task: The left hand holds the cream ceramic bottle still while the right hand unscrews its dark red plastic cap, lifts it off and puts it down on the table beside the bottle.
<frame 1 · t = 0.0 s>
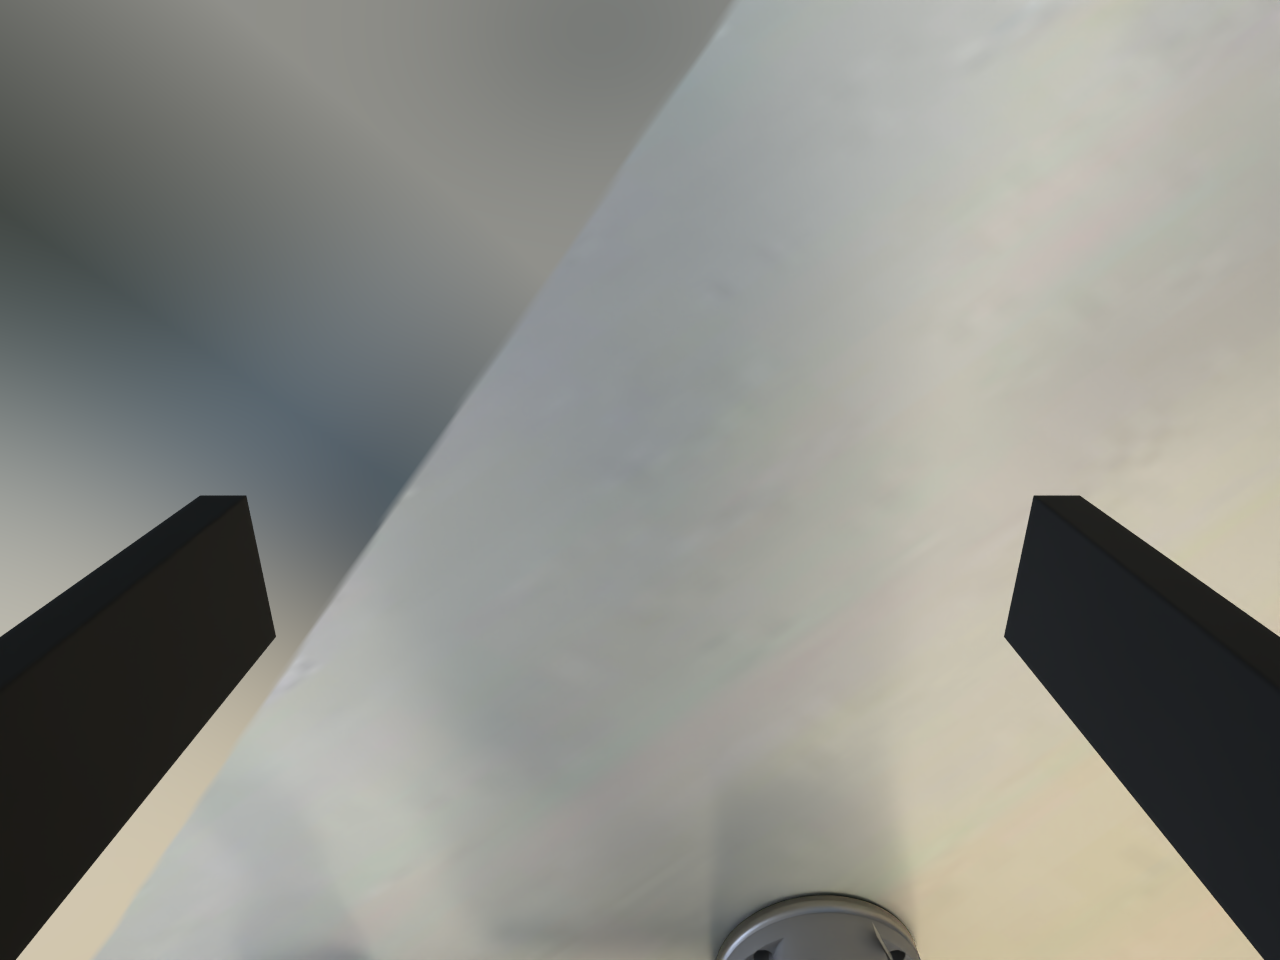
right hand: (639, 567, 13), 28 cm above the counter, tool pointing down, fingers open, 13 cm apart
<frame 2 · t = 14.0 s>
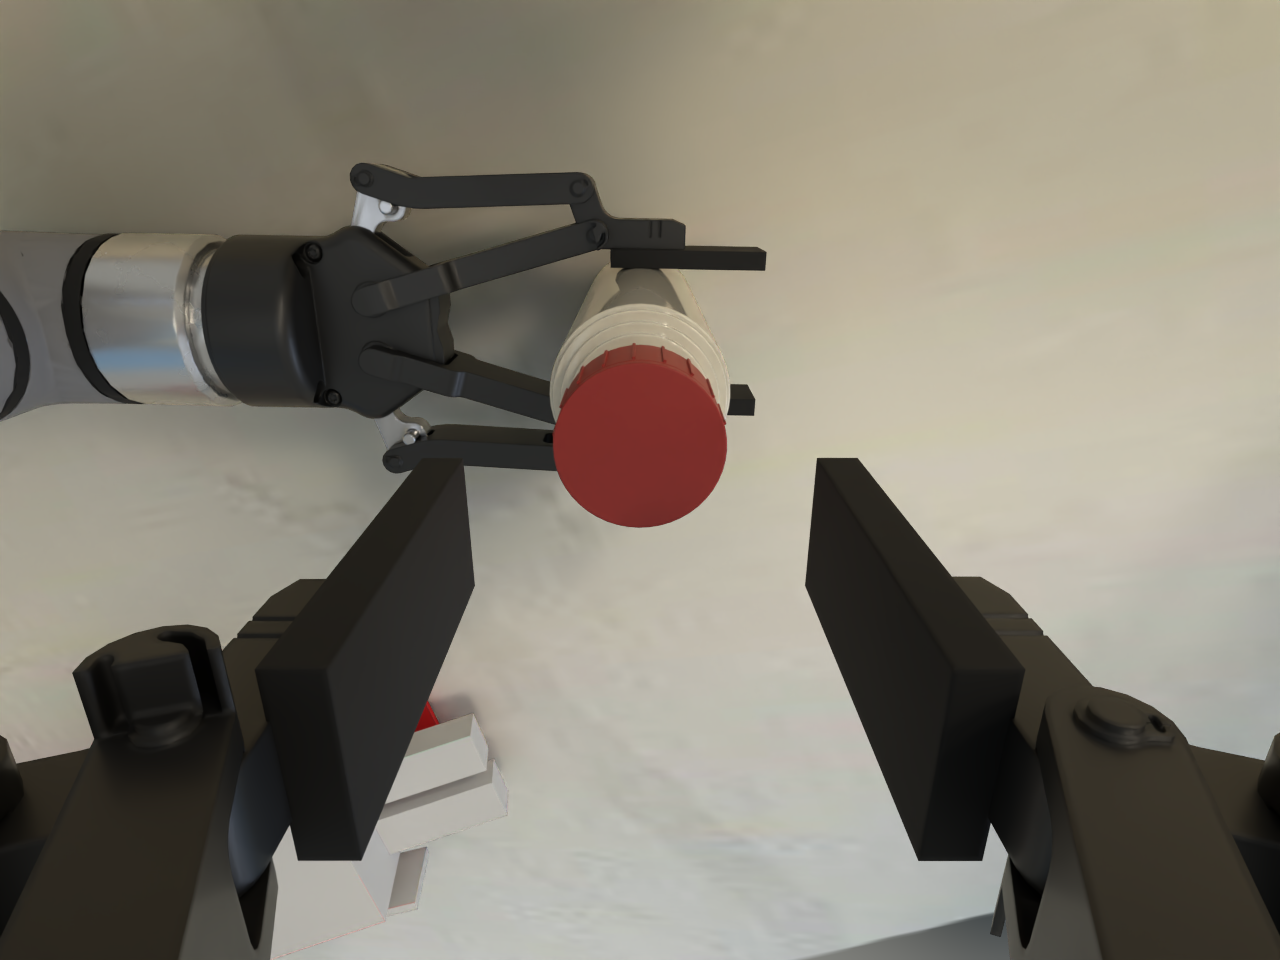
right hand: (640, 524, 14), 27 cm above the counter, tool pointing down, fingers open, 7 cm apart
left hand: (754, 331, 34), fingers closed on bottle, 6 cm apart
bottle: (639, 307, 40), on the counter, touching left hand
cap: (639, 445, 19), point 22 cm above the counter, screwed on, not yet turned
toy: (293, 767, 51), on the counter
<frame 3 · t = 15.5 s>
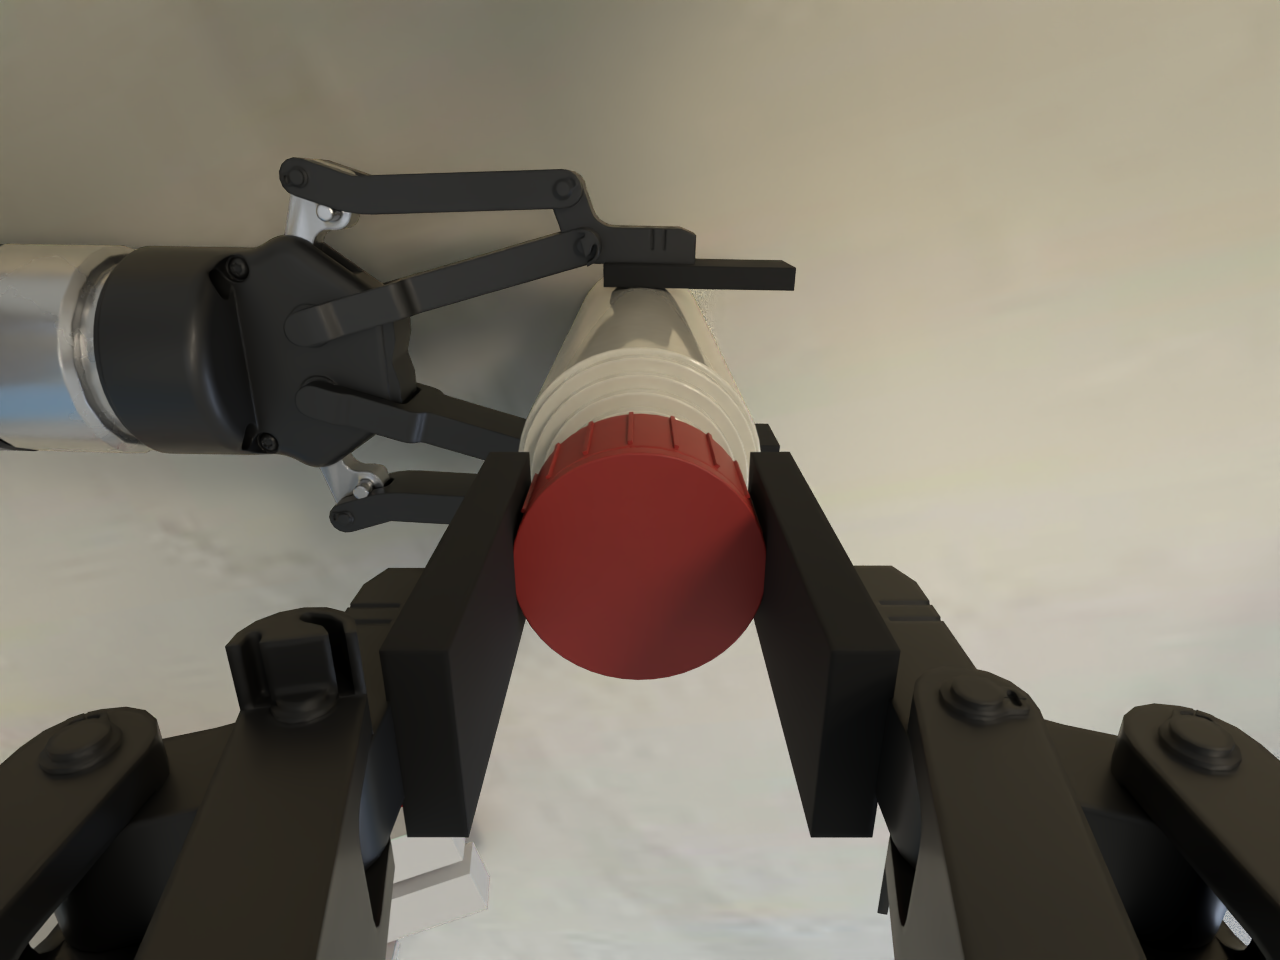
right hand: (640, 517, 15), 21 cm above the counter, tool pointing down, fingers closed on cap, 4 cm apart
left hand: (778, 362, 28), fingers closed on bottle, 6 cm apart
bottle: (639, 329, 34), on the counter, touching left hand
cap: (639, 565, 13), point 22 cm above the counter, screwed on, not yet turned, touching right hand
toy: (248, 843, 45), on the counter
when the right hand's fingers open (2 cm above the counter, at t = 33.7 s): cap drops 2 cm, point 2 cm above the counter.
when the left hand's fingers open (6 cm above the counter, at t = 34.9 s): bottle stays where it is, on the counter.
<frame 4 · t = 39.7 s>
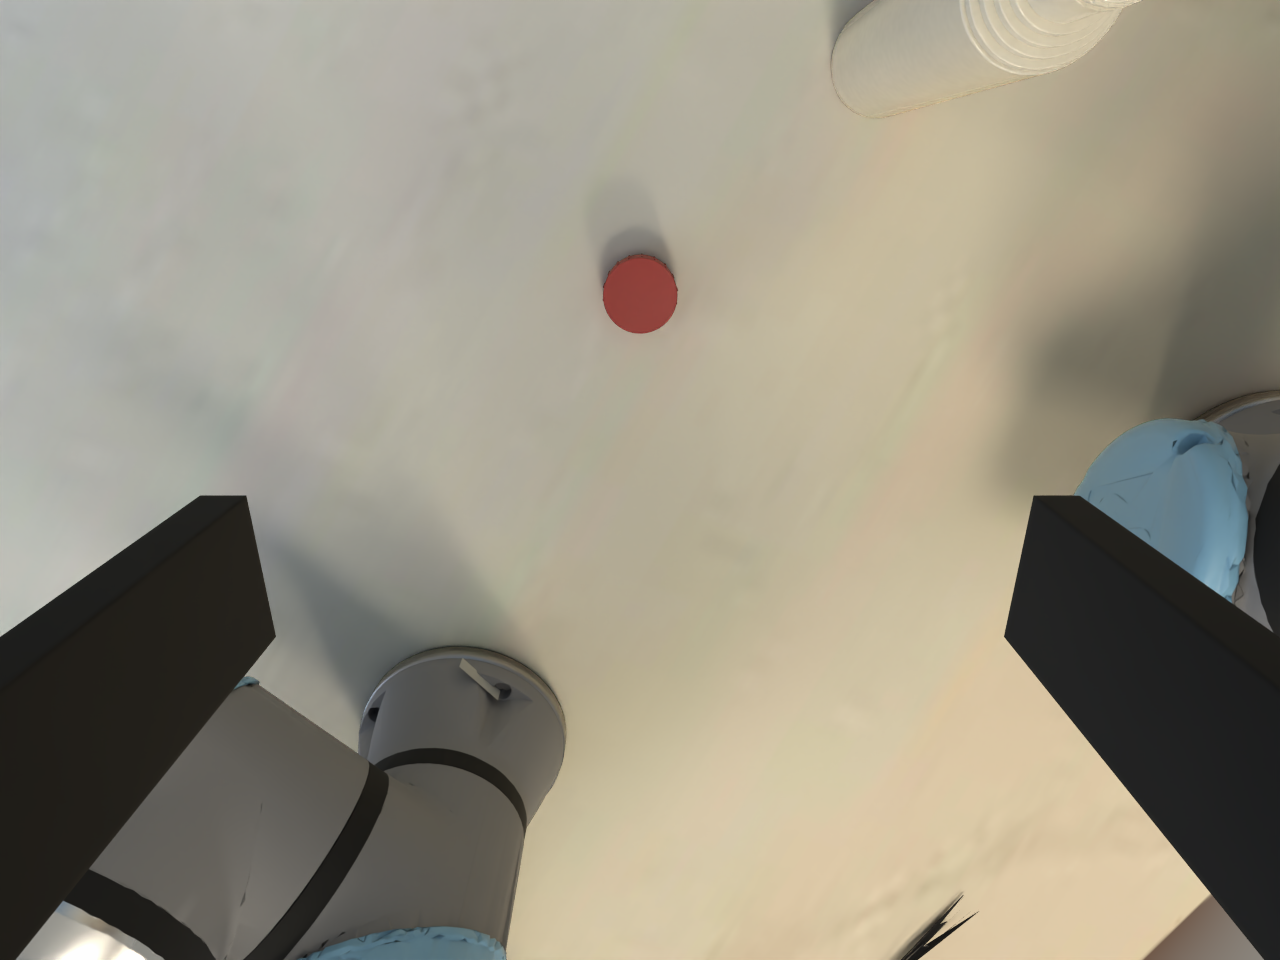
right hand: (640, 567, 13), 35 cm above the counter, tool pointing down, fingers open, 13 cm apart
bottle: (882, 61, 41), on the counter
cap: (640, 295, 44), point 2 cm above the counter, off its thread
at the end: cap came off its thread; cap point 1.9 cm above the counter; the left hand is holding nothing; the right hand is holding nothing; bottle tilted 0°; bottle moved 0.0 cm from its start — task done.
